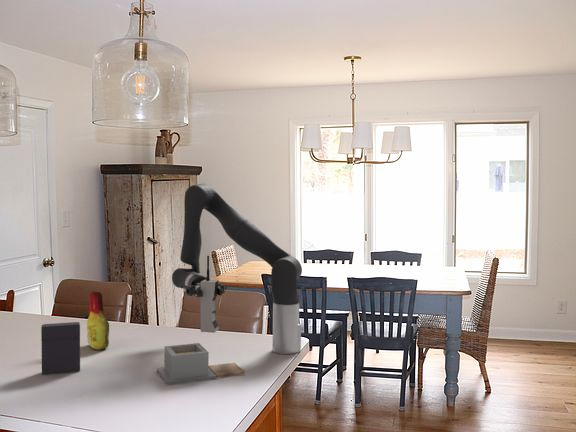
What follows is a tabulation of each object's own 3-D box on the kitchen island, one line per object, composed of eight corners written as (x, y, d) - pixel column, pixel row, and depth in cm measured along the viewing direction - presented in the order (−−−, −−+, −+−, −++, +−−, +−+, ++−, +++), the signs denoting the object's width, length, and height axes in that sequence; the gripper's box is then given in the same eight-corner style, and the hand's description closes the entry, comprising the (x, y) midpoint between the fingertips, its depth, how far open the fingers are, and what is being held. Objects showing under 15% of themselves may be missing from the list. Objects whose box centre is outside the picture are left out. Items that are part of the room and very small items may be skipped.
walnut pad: (234, 364, 188) (234, 362, 188) (244, 374, 178) (244, 371, 178) (207, 368, 184) (207, 365, 184) (216, 377, 175) (216, 375, 175)
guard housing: (203, 365, 186) (203, 341, 186) (216, 379, 174) (216, 352, 173) (156, 371, 180) (157, 345, 180) (166, 385, 168) (166, 358, 167)
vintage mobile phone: (215, 332, 187) (215, 256, 186) (200, 332, 188) (200, 255, 187) (218, 330, 191) (218, 255, 190) (204, 329, 192) (204, 254, 191)
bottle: (82, 345, 208) (82, 290, 207) (99, 342, 212) (99, 288, 211) (94, 352, 199) (94, 295, 198) (112, 349, 203) (112, 293, 202)
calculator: (79, 367, 182) (79, 321, 182) (80, 372, 178) (80, 324, 178) (42, 371, 178) (41, 323, 178) (41, 375, 174) (41, 326, 174)
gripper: (177, 275, 199) (189, 283, 184) (217, 272, 205) (232, 280, 189) (177, 297, 199) (189, 306, 184) (217, 293, 205) (232, 302, 190)
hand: (211, 293), depth 187 cm, fingers closed on vintage mobile phone, 6 cm apart
